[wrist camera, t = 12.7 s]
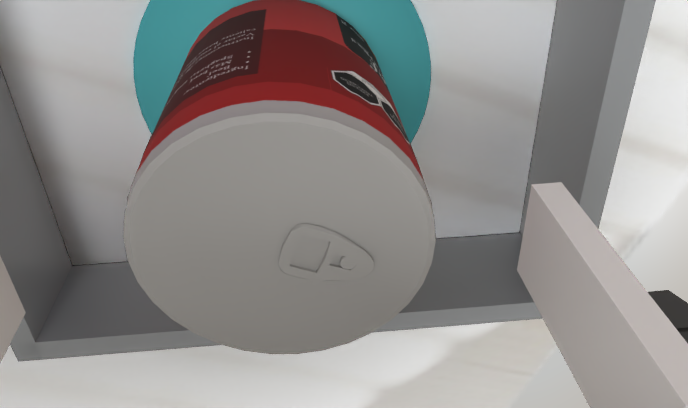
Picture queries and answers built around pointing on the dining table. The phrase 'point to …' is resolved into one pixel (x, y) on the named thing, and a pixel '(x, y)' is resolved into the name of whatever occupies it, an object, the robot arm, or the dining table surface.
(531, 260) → the robot arm
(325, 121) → the canned food
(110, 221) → the dining table surface
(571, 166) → the grey square tray
